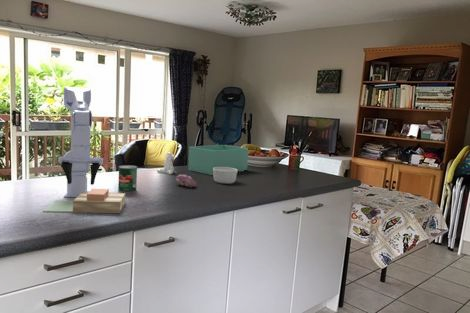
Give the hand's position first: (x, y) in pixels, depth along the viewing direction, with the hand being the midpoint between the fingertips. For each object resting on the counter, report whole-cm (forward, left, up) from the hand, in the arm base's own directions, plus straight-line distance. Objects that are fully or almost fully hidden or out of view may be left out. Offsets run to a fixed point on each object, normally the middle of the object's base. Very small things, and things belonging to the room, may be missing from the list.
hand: (81, 183), depth 136 cm
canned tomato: (-35, +11, -10) cm, 38 cm away
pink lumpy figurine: (-49, +38, -10) cm, 63 cm away
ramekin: (-63, +58, -10) cm, 87 cm away
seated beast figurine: (-84, +27, -10) cm, 89 cm away
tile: (-7, +4, -6) cm, 10 cm away
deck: (-7, +5, -10) cm, 13 cm away
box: (-99, +58, -11) cm, 116 cm away
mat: (-7, -8, -10) cm, 14 cm away
